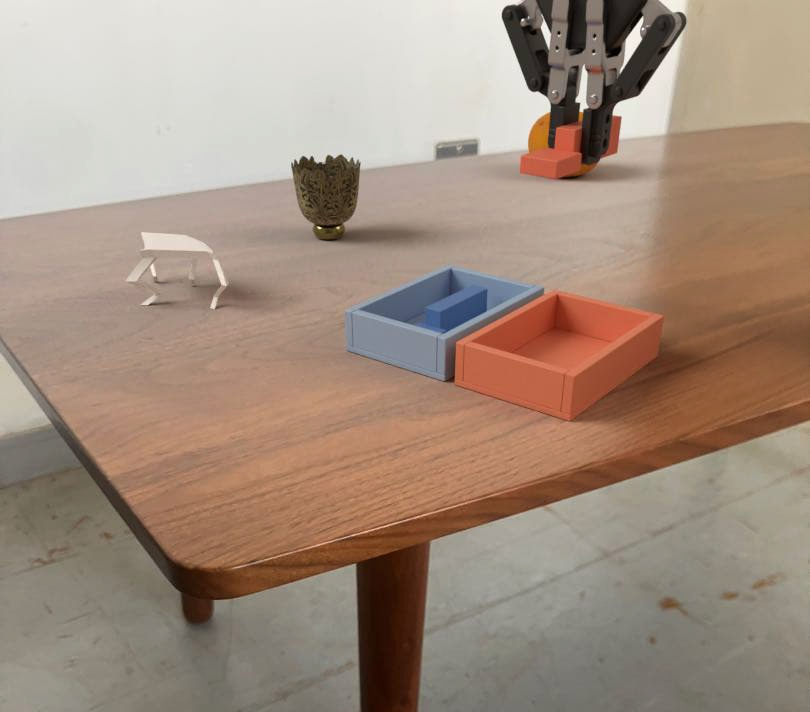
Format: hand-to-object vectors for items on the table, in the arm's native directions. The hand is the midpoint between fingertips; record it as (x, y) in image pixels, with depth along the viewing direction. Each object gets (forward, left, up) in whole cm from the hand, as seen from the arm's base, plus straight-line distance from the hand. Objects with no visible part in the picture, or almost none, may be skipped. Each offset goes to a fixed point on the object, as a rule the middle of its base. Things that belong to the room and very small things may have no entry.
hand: (576, 159), depth 67 cm
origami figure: (+35, +10, -15) cm, 39 cm away
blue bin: (+9, +3, -15) cm, 18 cm away
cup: (+37, -13, -15) cm, 42 cm away
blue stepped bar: (+9, +2, -15) cm, 17 cm away
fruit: (+31, -55, -15) cm, 65 cm away
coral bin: (-2, +3, -15) cm, 15 cm away
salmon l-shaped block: (0, -1, 0) cm, 1 cm away
